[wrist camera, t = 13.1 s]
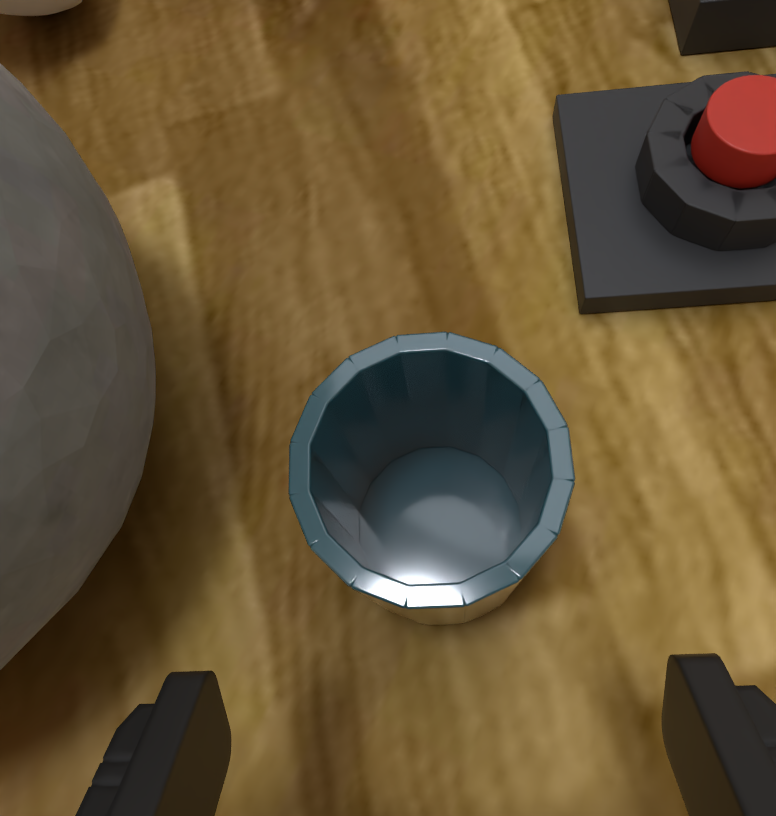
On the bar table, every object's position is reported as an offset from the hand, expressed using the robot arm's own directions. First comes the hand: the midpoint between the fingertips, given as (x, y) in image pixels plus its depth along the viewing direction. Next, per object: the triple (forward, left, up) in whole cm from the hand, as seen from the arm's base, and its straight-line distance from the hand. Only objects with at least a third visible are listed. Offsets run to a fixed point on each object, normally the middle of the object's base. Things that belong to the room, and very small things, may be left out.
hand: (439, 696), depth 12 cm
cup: (0, -5, -10) cm, 11 cm away
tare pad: (-11, -17, -10) cm, 22 cm away
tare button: (-11, -17, -7) cm, 21 cm away
